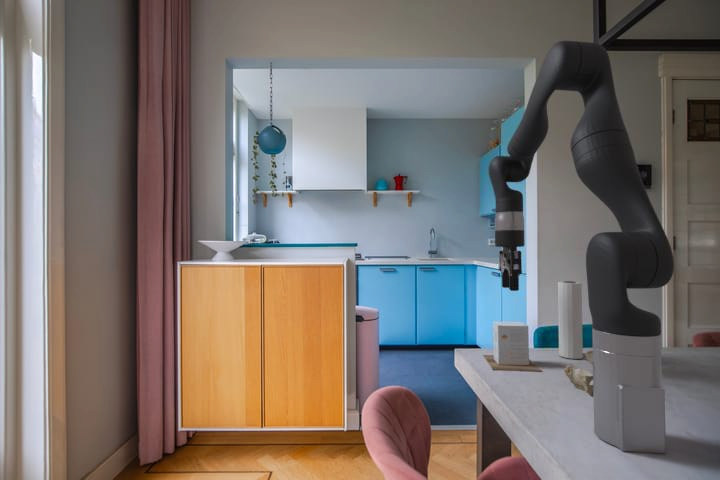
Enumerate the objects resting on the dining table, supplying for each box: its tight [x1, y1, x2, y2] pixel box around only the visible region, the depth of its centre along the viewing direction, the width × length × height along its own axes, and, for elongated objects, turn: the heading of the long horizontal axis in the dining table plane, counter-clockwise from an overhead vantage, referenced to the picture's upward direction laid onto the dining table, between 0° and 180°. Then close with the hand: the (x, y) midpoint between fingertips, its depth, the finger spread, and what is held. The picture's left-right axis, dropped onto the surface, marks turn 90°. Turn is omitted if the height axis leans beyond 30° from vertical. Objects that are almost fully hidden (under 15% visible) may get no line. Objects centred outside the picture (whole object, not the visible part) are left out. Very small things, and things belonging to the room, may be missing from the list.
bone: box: [564, 349, 593, 396], centre depth 85 cm, size 9×6×10 cm
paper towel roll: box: [557, 280, 584, 360], centre depth 112 cm, size 7×6×21 cm
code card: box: [482, 354, 543, 373], centre depth 106 cm, size 14×12×1 cm
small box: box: [492, 321, 530, 365], centre depth 106 cm, size 8×6×10 cm
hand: (510, 289), depth 106 cm, fingers open, 8 cm apart
